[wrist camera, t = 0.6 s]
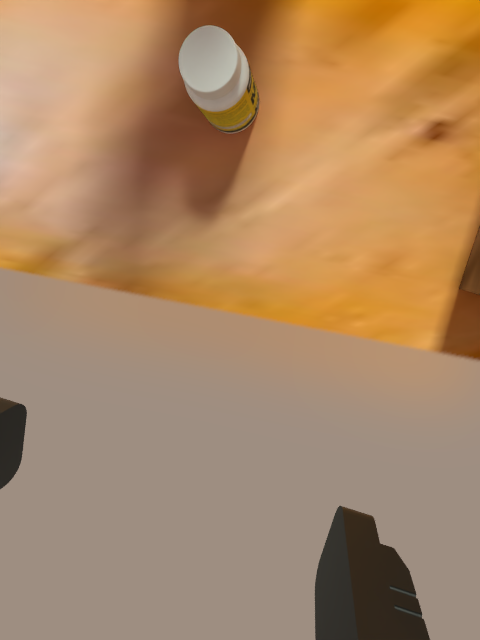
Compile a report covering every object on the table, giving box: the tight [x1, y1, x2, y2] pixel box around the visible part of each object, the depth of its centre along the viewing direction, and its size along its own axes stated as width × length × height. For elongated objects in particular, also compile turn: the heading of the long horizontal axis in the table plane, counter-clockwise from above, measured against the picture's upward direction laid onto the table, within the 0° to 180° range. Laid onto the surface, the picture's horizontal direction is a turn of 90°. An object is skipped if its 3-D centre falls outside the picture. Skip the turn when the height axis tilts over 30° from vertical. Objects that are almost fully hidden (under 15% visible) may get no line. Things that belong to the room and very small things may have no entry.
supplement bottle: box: [179, 25, 259, 134], centre depth 30 cm, size 5×5×8 cm
